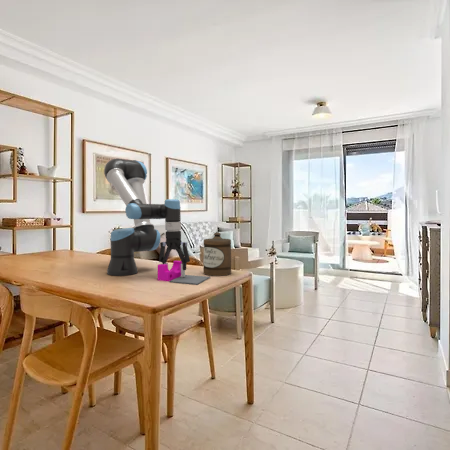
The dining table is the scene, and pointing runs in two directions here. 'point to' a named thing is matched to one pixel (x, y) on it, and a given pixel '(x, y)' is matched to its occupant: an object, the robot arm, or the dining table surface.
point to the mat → (190, 279)
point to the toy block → (169, 271)
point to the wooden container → (217, 256)
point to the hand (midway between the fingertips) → (174, 276)
